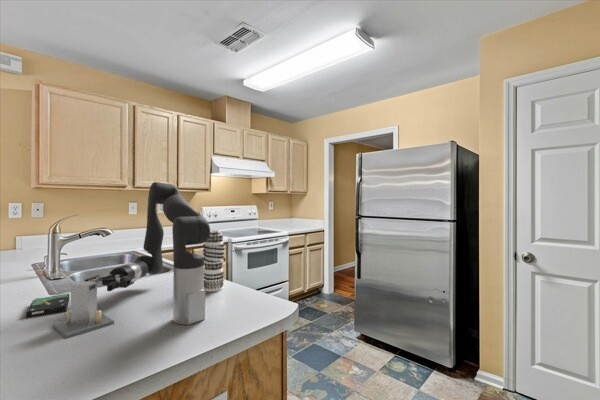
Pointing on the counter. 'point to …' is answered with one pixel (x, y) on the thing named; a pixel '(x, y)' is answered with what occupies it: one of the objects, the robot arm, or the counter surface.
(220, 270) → the decorative candle
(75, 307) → the grey upright block
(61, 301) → the disk drive
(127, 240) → the counter surface
